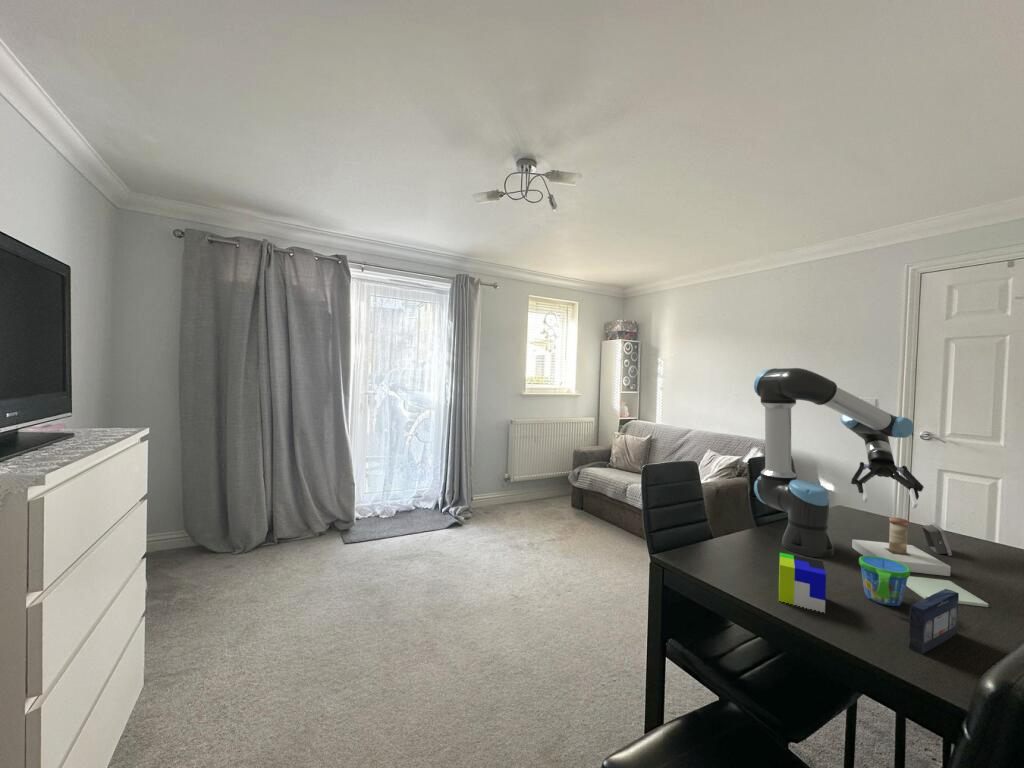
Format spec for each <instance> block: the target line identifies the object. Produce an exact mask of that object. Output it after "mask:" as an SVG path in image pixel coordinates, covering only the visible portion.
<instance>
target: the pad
mask: <svg viewBox="0 0 1024 768" xmlns="http://www.w3.org/2000/svg"><path fill="white" fill-rule="evenodd" d="M907 587H908V589H910V590H911V591H913V592H914V593H915V594H917V595H918V596H920V597H921V598H922V599H925V598H927V597H930V596H931V595H933V594H935V593H938V592H939V591H942V590H944V589H948V590H951V591H954V592H957V593H958V594H959V599H958V605H959V604H962V605H968V606H975V607H976V606H978V607H984V608H989V603H987V602H985V601H984V600H982V599H981V598H979V597H978V596H976V595H975V594H972V593H971V592H969V591H967V590H966V589H963V587H961V586H959V585H958V584H955V583H954V582H953V581H952V580H948V579H947V580H946V579H940V578H929V577H921V576H911V575H910V576H909V577H908V578H907V583H906V588H907Z"/></svg>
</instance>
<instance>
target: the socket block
mask: <svg viewBox="0 0 1024 768" xmlns="http://www.w3.org/2000/svg"><path fill="white" fill-rule="evenodd" d="M851 541H852V542H851V549H854V550H855V551H856V552H858V553H859V554H861V556H877V557H882V558H887V559H890V560H894V561H897V562H899V563H902V564H904V565H905V566H907V567H908V568H909V569H910V573H918V574H927V575H937V576H945V577H951V566H950V565H949V564H947V563H945V562H943V561H942V560H939V559H938V558H936V557H934V556H932V555H931V554H929V553H927V552H925V551H923V550H922V549H919V548H918V547H916V546H915V545H912V544H907V555H898V554H893V553H891V552H889V542H883V541H874V540H863V539H852V540H851Z"/></svg>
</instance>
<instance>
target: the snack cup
mask: <svg viewBox="0 0 1024 768" xmlns="http://www.w3.org/2000/svg"><path fill="white" fill-rule="evenodd" d="M858 564H859V566H860V569H861V571H860V572H861V577H862V578H861V579H862V584H863V591H864V594H865V596H866V597H867V599H869V600H872V601H873V602H875V603H878V604H880V605H886V606H889V607H890V606H891V607H895V606H896V607H899V606H901V604H902V602H903V599H904V594H905V590H906V588H907V586H906V583H907V578H908V577H909V576H911V572H910V569H909V568H908V567H907V566H905V565H904V564H902V563H899V562H897V561H894V560H890V559H887V558H882V557H877V556H863V555H861V556H860V557H859V558H858Z"/></svg>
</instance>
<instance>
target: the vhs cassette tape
mask: <svg viewBox="0 0 1024 768" xmlns="http://www.w3.org/2000/svg"><path fill="white" fill-rule="evenodd" d="M958 599H959V594H958V593H957V592H954V591H951V590H948V589H944V590H942V591H939V592H938V593H935V594H933V595H931V596H930V597H927V598H925V599H924V598H922V599H921V600H919V601H917V602H915V603H913V604H911V605H910V606H909V624H908V625H909V629H908V646H907V647H908V649H909V650H911V651H913V652H916V653H919V654H921V655H924V654H926V653H927V652H928V651H930V650H932V649H934V648H936V647H938V646H939V645H941V644H943V643H945V642H947V641H948V640H949V639H951V638H952V636H953V637H955V636H956V635H957V634H958V619H959V618H958V616H959V614H958V613H959V603H958Z"/></svg>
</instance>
